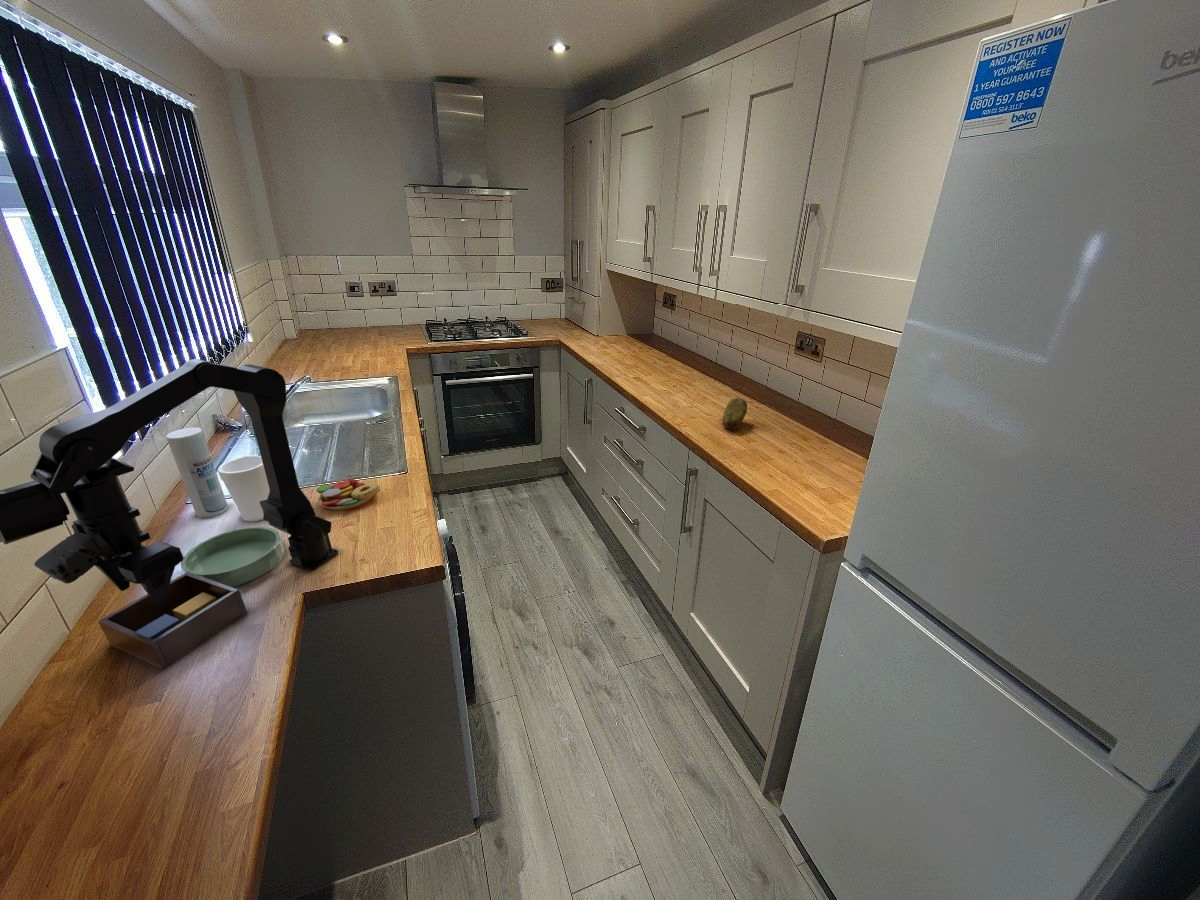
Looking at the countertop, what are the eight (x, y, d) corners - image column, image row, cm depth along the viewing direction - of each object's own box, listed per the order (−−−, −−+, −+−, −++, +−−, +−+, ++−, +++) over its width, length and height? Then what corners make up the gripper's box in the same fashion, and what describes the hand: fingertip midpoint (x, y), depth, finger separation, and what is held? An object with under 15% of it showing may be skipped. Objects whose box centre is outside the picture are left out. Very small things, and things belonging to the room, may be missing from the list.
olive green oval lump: (711, 427, 168) (713, 404, 165) (731, 417, 177) (733, 394, 173) (735, 433, 163) (737, 409, 160) (753, 422, 172) (756, 399, 168)
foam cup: (240, 509, 124) (223, 459, 119) (284, 501, 128) (269, 452, 123) (232, 528, 116) (213, 476, 111) (279, 519, 120) (263, 468, 114)
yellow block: (207, 602, 93) (202, 591, 92) (220, 607, 92) (216, 596, 91) (177, 621, 89) (172, 609, 88) (190, 626, 87) (185, 615, 86)
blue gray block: (170, 625, 88) (165, 613, 87) (184, 630, 86) (179, 619, 86) (136, 645, 84) (131, 634, 83) (150, 652, 82) (145, 640, 81)
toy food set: (387, 498, 128) (384, 486, 127) (332, 519, 119) (329, 507, 118) (362, 481, 137) (359, 470, 135) (309, 500, 128) (305, 489, 126)
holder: (197, 594, 96) (188, 571, 94) (247, 613, 91) (239, 589, 89) (110, 645, 84) (97, 621, 82) (162, 670, 80) (150, 644, 78)
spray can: (212, 503, 127) (185, 426, 119) (235, 505, 126) (209, 428, 118) (188, 516, 122) (157, 437, 113) (212, 519, 120) (182, 439, 112)
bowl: (248, 534, 114) (244, 520, 113) (302, 550, 108) (298, 535, 107) (167, 578, 100) (161, 563, 99) (224, 598, 95) (218, 583, 93)
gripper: (-6, 524, 72) (44, 614, 78) (70, 553, 65) (118, 648, 71) (91, 488, 81) (129, 571, 88) (166, 510, 75) (202, 598, 81)
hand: (142, 596), depth 82 cm, fingers open, 9 cm apart
